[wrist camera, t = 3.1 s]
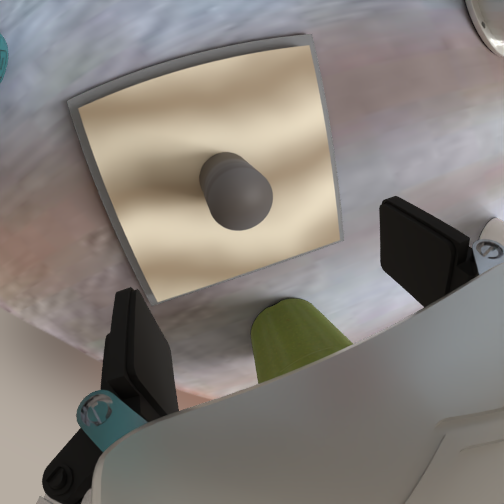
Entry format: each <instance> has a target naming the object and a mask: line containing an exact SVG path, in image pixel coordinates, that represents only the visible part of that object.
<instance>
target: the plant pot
mask: <svg viewBox="0 0 504 504" xmlns="http://www.w3.org/2000/svg"><path fill="white" fill-rule="evenodd" d="M251 341H252V348H253V354H254V360H255V366H256V372H257V378H258V384H260V383H262V382H265V381H268V380H270V379H273V378H276V377H278V376H281V375H283V374H286V373H288V372H291V371H293V370H296V369H298V368H301V367H303V366H305V365H308V364H310V363H312V362H315V361H317V360H319V359H322V358H324V357H326V356H328V355H331V354H333V353H335V352H337V351H340V350H342V349H344V348H346V347H348V346H350V345H353V343H352V342H351V341H350V340H349V339H348V338H347V337H345V336H344V335H343V334H342V333H341V332H340V331H339V330H338V329H337V328H336V327H335V326H334V325H333V324H332V323H331V322H330V321H329V320H328V319H327V318H326V317H325V316H324V315H323V314H322V313H321V312H320V311H319V310H317V309H316V308H315V307H314V306H313V305H312V304H311V303H309V302H308V301H305V300H302V299H286V300H282V301H280V302H279V303H278V304H276V305H274V306H271V307H268V308H266V309H265V310H263V311H262V312H261V313H260V314H259V316H258V317H257V318H256V319H255V321H254V323H253V325H252V329H251Z"/></svg>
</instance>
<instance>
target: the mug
mask: <svg viewBox="0 0 504 504" xmlns="http://www.w3.org/2000/svg"><path fill="white" fill-rule="evenodd" d="M480 239H489V240H493V241H496V242H498V243H500V244H501V245H503V246H504V221H502V220H500V219H498V218H493V219H492V220H490V221H489V222H488V223H487V225H486V226H485V228H484V229H483V231H482V233H481V236H480ZM480 239H479V240H480Z"/></svg>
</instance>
